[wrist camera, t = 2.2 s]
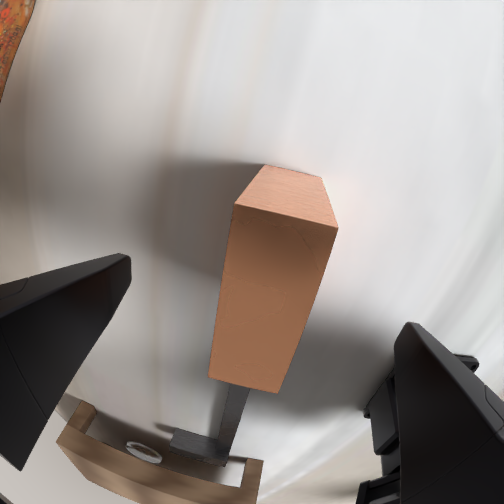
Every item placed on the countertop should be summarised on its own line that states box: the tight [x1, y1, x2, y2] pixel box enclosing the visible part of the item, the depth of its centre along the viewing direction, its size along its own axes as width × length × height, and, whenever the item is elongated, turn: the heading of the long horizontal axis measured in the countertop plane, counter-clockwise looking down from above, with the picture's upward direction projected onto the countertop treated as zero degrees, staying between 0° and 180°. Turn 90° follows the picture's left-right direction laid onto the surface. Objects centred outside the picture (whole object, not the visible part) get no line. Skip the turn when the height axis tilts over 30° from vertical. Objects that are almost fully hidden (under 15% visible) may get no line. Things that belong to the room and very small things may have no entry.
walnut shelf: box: [56, 401, 263, 504], centre depth 23 cm, size 19×12×6 cm, turn 79°
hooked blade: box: [169, 165, 338, 467], centre depth 15 cm, size 6×24×6 cm, turn 169°
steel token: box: [126, 441, 162, 463], centre depth 27 cm, size 4×4×1 cm
